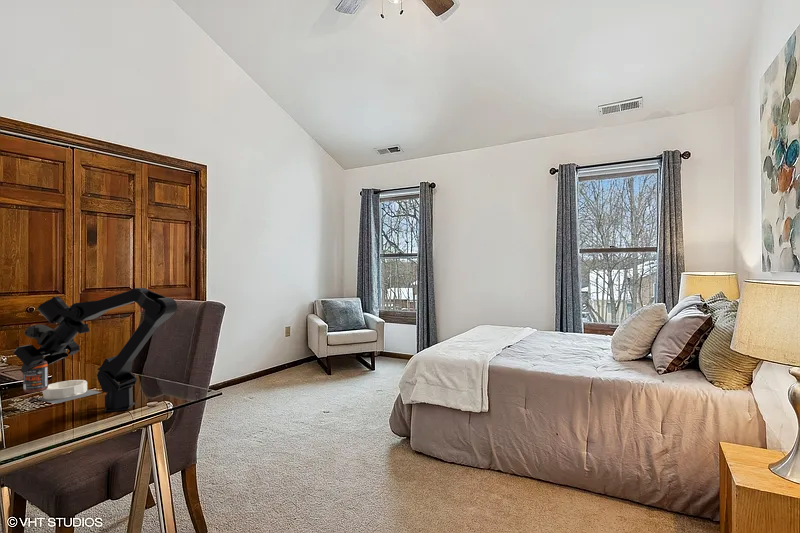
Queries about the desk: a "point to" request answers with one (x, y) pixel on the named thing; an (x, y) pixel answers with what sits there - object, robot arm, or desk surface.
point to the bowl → (65, 389)
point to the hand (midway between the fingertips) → (31, 369)
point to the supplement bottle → (36, 378)
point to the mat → (89, 392)
